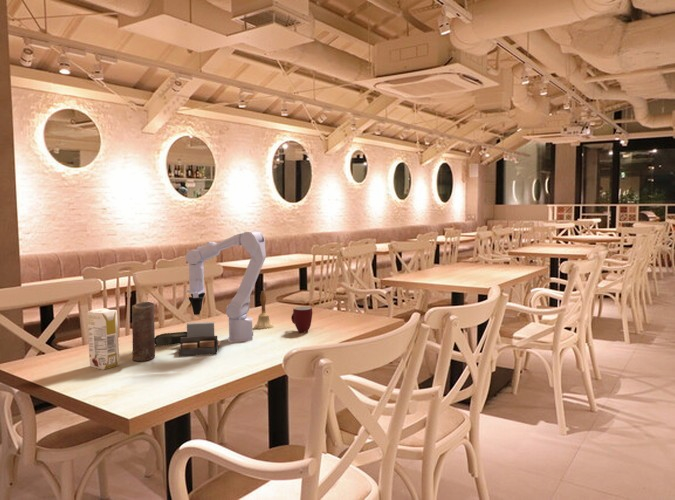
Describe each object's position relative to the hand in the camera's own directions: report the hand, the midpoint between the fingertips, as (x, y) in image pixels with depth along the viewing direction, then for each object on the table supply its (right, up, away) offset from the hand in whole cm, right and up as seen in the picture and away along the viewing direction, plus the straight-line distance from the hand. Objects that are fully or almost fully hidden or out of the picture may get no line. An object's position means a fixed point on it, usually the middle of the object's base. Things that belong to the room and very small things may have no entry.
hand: (197, 312), depth 215 cm
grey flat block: (+4, -11, -11) cm, 16 cm away
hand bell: (+24, -9, +20) cm, 33 cm away
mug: (+41, -9, +11) cm, 43 cm away
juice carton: (-22, -14, -36) cm, 45 cm away
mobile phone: (-7, -12, -10) cm, 17 cm away
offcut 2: (+9, -12, -23) cm, 27 cm away
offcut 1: (+4, -12, -24) cm, 27 cm away
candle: (-10, -13, -30) cm, 35 cm away
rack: (+6, -12, -21) cm, 25 cm away
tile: (+4, -11, -11) cm, 16 cm away
